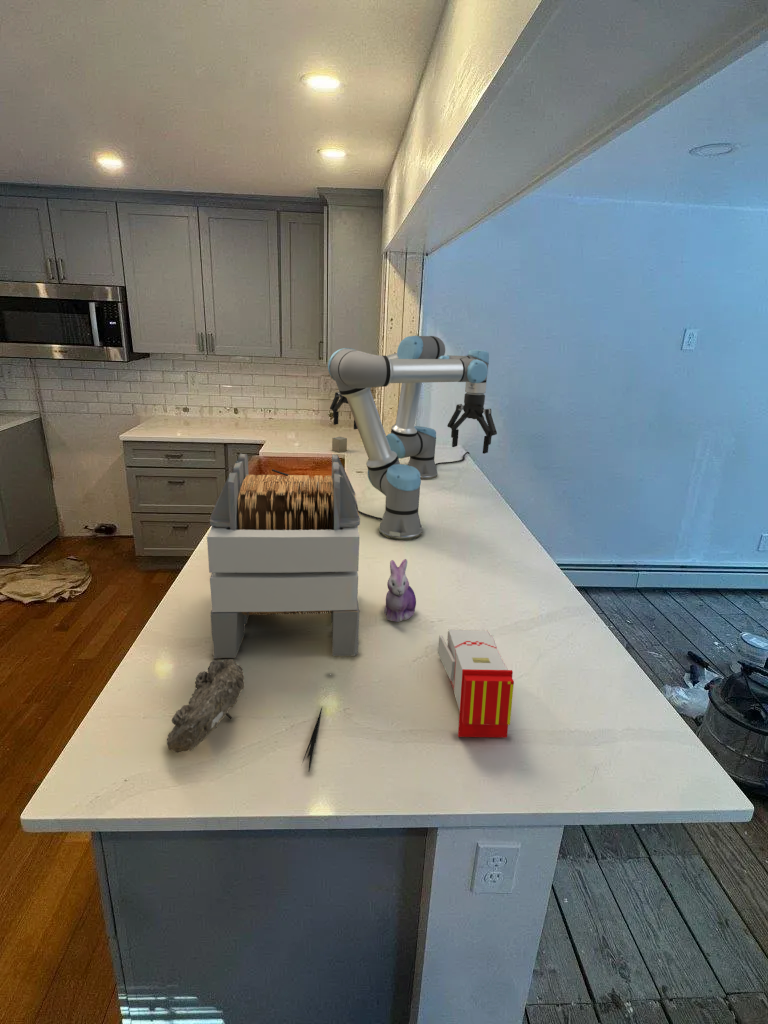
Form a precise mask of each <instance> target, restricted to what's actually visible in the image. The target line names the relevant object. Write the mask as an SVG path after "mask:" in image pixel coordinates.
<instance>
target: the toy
mask: <svg viewBox="0 0 768 1024" xmlns="http://www.w3.org/2000/svg"><path fill="white" fill-rule="evenodd" d="M446 640H447V643H446V641H445V639H444V636H443V635H442V634H439V637H438V646H437V656H438V657H439V659H440V661H441V663H442V666H443V668H444V670H445V672H446V674H447V677H448V679H449V681H450V684H451V687H452V690H453V693H454V697H455V701H456V705H457V708H458V711H459V714H458V715H459V716H458V730H457V731H458V732H457V737H458V738H508V731H509V726H510V725H511V717H512V707H513V697H514V696H513V695H514V684H515V680H514V679H513V673H514V671H513V670H512V669H508V667H507V665H506V662H505V661H504V659H503V658H502V655H501V653H500V651H499V649H498V647H497V643H496V639H495V637H494V635H493V634H491V632H490V631H489V629H467V628H466V629H465V628H463V629H461V628H460V629H459V628H448V630H447V639H446Z"/></svg>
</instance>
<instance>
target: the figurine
mask: <svg viewBox="0 0 768 1024" xmlns="http://www.w3.org/2000/svg"><path fill="white" fill-rule="evenodd" d="M407 567H408V559H406V558H404V559H403V560H402V561H401V563H400V565H399V566H398V565H397V563H396V562H395V561H394V560H393V559H391V560H390V561H389V570H390V576H389V578H388V579H387V589H388V591H387V592H386V594H385V595H386V596H385V607H384V615H385V616H386V620H387V621H391V622H395V623H400V622H402V621H406V620H409V619H410V618H411V617H413V616H414V615H415V610H416V606H417V597H416V593H415V591H414V590H413V587H411V586H410V582H409V579H408V577H407V574H406V571H407Z"/></svg>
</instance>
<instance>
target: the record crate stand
mask: <svg viewBox="0 0 768 1024" xmlns="http://www.w3.org/2000/svg"><path fill="white" fill-rule="evenodd" d="M358 510H359V507H358V502H357V496H356V491H355V490H354V487H353V485H352V483H351V481H350V479H349V476H348V474H347V472H346V470H345V468H344V465H343V464H342V461H341V459H340V456H339V454H333V453H331V475H318V474H317V475H313V476H310V475H306V474H305V475H304V474H303V475H302V474H301V475H300V474H289V475H288V476H285V475H281V474H277V475H276V474H257V475H255V474H250V473H249V459H248V453H242V452H241V453H239V455H238V457H237V460H236V461H235V463H234V465H233V467H232V470H231V471H230V472H229V474H228V477H227V478H226V480H225V483H224V485H223V487H222V490H221V492H220V494H219V496H218V499H217V501H216V503H215V505H214V507H213V509H212V511H211V514H210V517H209V526H210V529H209V531H208V534H207V536H206V542H207V558H208V572H209V574H210V573H211V574H210V576H209V586H210V602H211V610H210V629H211V630H210V631H211V639H212V648H213V655H212V657H213V659H216V660H217V659H218V660H221V659H236V658H237V655H238V653H239V651H240V647H241V645H242V643H243V640H244V637H245V634H246V633H245V631H246V629H245V625H246V626H247V625H248V621H249V616H252V615H256V616H263V615H265V616H266V615H267V616H269V615H306V614H307V615H313V614H314V615H315V614H316V615H317V614H318V615H323V614H324V615H325V614H330V617H331V618H330V620H331V621H330V622H331V645H332V657H333V656H334V657H335V656H337V657H339V656H340V657H342V656H344V657H345V656H348V657H355V656H357V655H358V654H359V640H360V639H359V636H360V635H359V634H360V605H359V598H358V592H359V573H358V572H359V563H360V562H359V560H360V558H359V557H360V556H359V555H360V532H359V526H360V523H361V517H360V514H359V511H360V510H359V511H358Z"/></svg>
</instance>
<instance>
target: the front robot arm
mask: <svg viewBox="0 0 768 1024" xmlns="http://www.w3.org/2000/svg"><path fill="white" fill-rule="evenodd" d="M489 362H490V353H489V351H487V350H484V349H469V350H468V353H467V355H449V354H447V355H444V356H440V357H439V358H438V359H389V357H388V355H381V354H380V355H379V354H373V353H368V352H364V351H362V350H357V349H355V348H351V347H343V348H339V349H338V350H335V351H334V352H333V353H332V354H331V356H330V358H329V359H328V363H327V370H328V373H329V375H330V377H331V379H332V380H333V381H335V384H336V386H337V389H338V392H340V394H341V395H342V396H344V397H346V398H347V401H348V403H349V404H348V406H349V408H350V411H351V415H352V418H353V421H354V420H355V423H356V425H357V428H358V429H357V430H358V433H359V436H360V439H361V441H362V444H363V447H364V449H365V452H366V455H367V458H368V459H367V461H366V463H365V464H366V467H367V478H368V481H369V483H370V484H371V485H372V487H373V488H375V489H376V490H377V491H379V492H380V493H381V494H382V495H384V496H385V504H384V505H385V507H384V508H385V509H384V513H383V515H382V517H380V516H376V515H372V514H369V513H365V512H362V511H360V510H359V509H358V511H359V515H362V516H364V517H367V518H370V519H373V520H377V521H381V522H379V526H378V533H379V534H380V535H381V536H382V537H385V538H387V539H389V540H395V541H410V540H415V539H418V538H420V537H421V536H422V535H423V525H422V524H421V518H420V515H419V507H420V506H419V505H420V496H421V495H420V494H421V493H420V492H421V483H422V479H420V472H419V471H418V470H417V469H416V468H414V467H412V466H408V464H403V463H401V462H400V460H399V459H400V458H399V459H398V456H397V454H396V452H393V451H391V449H390V446H389V443H388V440H387V437H386V436H387V434H386V432H385V429H384V426H383V422H382V420H381V417H380V414H379V411H378V408H377V405H376V402H375V400H374V397H373V394H372V391H371V388H381V387H382V388H383V387H384V388H385V387H388V386H389V385H390V384H402V383H422V384H424V383H426V384H427V383H465V387H464V391H465V393H464V397H463V403H464V404H462V403H458V404H456V405H455V410H454V412H453V414H452V416H451V417H450V419H449V420H448V421H449V422H448V423H447V425H446V426H447V428H449V429H451V434H450V438H452V440H451V447H452V448H455V447H458V444H459V443H458V442H459V431H460V430H459V429H458V428H459V427H460V426H461V425H462V424H463V423H464V421H466V419H471V420H476V421H477V422H478V423H479V426H480V427H481V429H482V430H483V432H484V434H485V435H484V436H483V444H482V445H483V446H482V454H488V453H489V446H491V444H492V437H493V436H496V435H497V434H498V432H497V428H496V424H495V422H494V419H493V415H492V408H485V406H484V405H485V402H486V401H485V400H486V395H485V394H486V390H487V381H488V380H487V379H488V373H489V365H490V364H489ZM462 411H463V413H462V414H461V412H462ZM460 414H461V416H460ZM483 414H484V415H483ZM459 416H460V417H459ZM484 416H485V417H484ZM271 472H274V473H277V474H278V475H281V476H284V477H285V476H286V477H287V476H288V475H290V474H288V473H285V472H282V471H280V470H276V469H274V468H272V469H271Z"/></svg>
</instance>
